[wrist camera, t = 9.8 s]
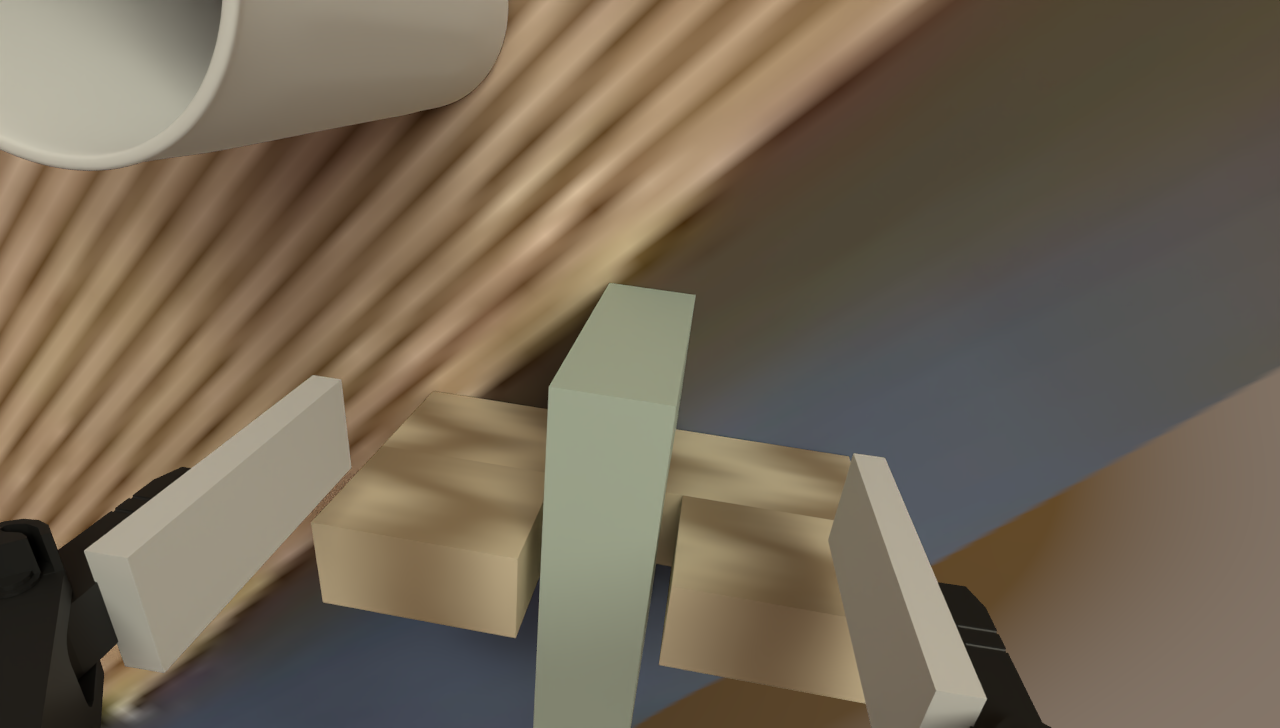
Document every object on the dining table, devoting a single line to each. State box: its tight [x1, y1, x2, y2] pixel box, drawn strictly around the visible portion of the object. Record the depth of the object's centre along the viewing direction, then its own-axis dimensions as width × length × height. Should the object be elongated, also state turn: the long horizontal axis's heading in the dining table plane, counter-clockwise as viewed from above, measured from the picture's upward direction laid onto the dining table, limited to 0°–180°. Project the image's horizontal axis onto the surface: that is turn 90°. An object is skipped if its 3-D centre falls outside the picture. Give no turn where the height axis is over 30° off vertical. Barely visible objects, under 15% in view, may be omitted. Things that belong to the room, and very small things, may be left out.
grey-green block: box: [533, 283, 696, 728], centre depth 21 cm, size 3×14×8 cm, turn 174°
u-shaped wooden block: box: [311, 391, 866, 703], centre depth 21 cm, size 16×3×8 cm, turn 84°
